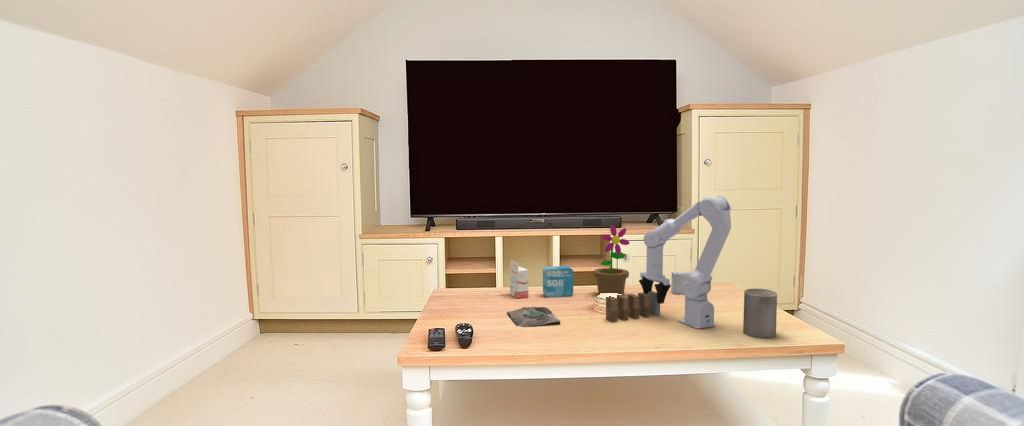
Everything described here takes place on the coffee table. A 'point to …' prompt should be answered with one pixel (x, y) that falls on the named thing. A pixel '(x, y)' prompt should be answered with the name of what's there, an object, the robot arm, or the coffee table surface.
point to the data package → (558, 281)
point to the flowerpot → (611, 277)
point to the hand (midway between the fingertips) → (654, 300)
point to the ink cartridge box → (518, 281)
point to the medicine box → (678, 281)
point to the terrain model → (533, 317)
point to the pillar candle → (760, 313)
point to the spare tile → (654, 304)
